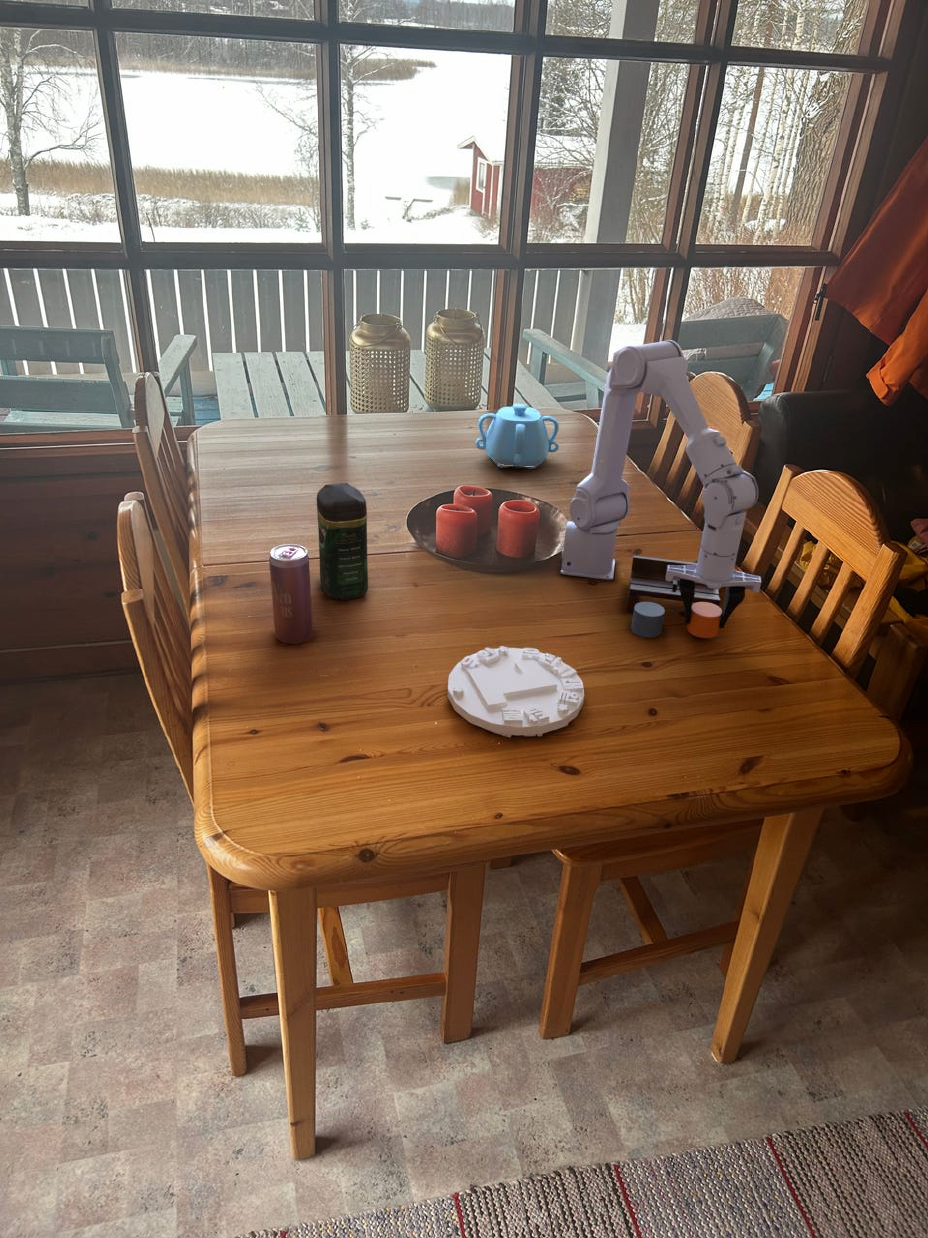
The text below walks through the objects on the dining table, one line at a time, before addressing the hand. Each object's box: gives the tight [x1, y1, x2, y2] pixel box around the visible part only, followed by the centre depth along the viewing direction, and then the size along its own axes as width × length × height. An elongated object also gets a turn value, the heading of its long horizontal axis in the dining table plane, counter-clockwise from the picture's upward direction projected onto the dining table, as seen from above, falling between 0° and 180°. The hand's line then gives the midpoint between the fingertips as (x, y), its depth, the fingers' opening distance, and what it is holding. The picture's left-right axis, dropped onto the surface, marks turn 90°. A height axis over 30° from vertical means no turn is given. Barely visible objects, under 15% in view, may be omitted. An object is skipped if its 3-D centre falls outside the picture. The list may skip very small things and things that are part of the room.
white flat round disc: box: [447, 645, 585, 739], centre depth 134 cm, size 20×20×3 cm
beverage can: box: [268, 543, 314, 645], centre depth 143 cm, size 6×6×15 cm
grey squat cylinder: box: [630, 601, 666, 638], centre depth 151 cm, size 5×5×4 cm
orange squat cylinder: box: [686, 602, 722, 639], centre depth 149 cm, size 5×5×4 cm
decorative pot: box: [475, 403, 560, 470], centre depth 213 cm, size 16×16×14 cm
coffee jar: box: [316, 482, 369, 601], centre depth 156 cm, size 10×8×19 cm
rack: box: [626, 555, 721, 614], centre depth 158 cm, size 15×9×6 cm, turn 79°
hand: (703, 622), depth 150 cm, fingers closed on orange squat cylinder, 5 cm apart
